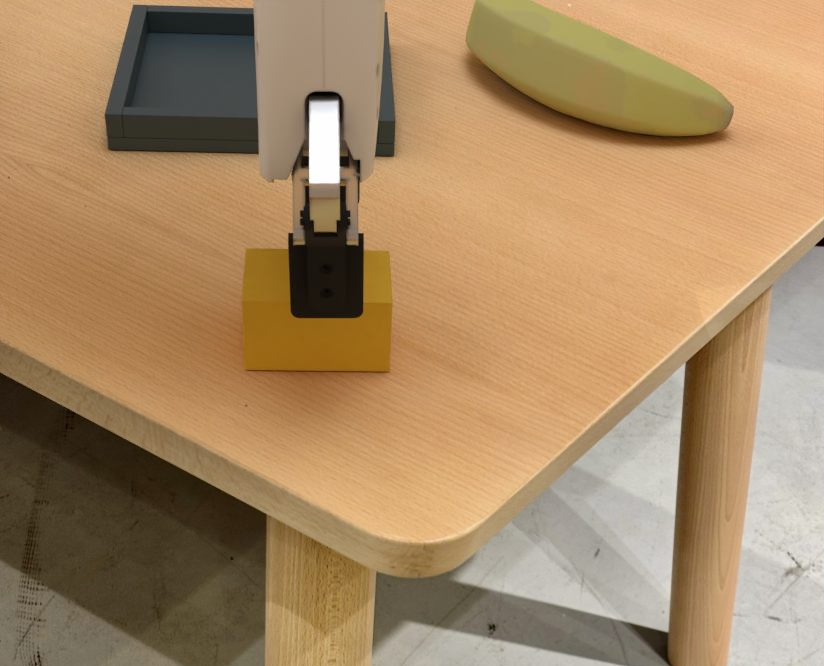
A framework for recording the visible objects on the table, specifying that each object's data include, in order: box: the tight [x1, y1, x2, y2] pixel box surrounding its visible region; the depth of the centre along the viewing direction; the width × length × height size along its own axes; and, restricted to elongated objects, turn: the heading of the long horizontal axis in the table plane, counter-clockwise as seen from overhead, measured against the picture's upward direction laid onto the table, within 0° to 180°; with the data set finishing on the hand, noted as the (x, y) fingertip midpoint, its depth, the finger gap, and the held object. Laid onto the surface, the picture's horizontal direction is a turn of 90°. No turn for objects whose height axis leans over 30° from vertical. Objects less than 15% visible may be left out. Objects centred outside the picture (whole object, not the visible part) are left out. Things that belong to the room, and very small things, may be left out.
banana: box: [465, 0, 735, 137], centre depth 91 cm, size 14×6×20 cm
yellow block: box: [240, 247, 393, 373], centre depth 67 cm, size 7×5×4 cm, turn 93°
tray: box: [104, 4, 397, 157], centre depth 88 cm, size 17×16×2 cm
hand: (327, 256), depth 65 cm, fingers open, 9 cm apart
